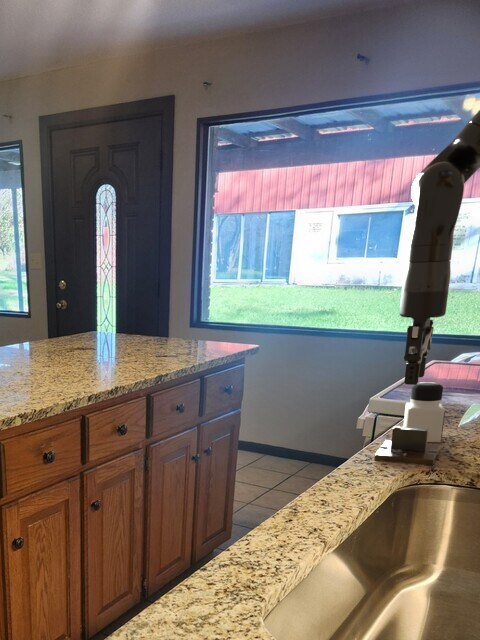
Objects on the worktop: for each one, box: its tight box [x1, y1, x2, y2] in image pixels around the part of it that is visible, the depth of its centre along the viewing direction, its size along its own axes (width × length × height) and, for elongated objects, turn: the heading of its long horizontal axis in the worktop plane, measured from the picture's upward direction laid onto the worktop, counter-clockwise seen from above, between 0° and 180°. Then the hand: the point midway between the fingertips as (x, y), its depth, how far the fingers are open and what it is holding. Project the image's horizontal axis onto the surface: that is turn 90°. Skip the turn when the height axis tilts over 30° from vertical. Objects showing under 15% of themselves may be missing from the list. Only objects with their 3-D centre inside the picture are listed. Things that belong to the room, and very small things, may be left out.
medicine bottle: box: [402, 381, 446, 444], centre depth 147 cm, size 7×7×12 cm
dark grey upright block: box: [390, 425, 428, 452], centre depth 130 cm, size 6×2×4 cm, turn 59°
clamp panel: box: [373, 439, 441, 467], centre depth 131 cm, size 10×12×3 cm
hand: (414, 380), depth 126 cm, fingers open, 8 cm apart
